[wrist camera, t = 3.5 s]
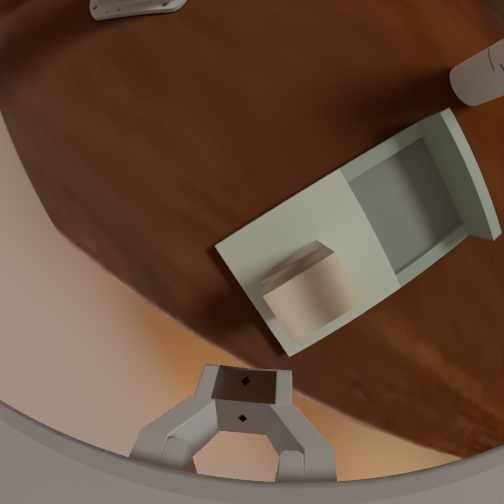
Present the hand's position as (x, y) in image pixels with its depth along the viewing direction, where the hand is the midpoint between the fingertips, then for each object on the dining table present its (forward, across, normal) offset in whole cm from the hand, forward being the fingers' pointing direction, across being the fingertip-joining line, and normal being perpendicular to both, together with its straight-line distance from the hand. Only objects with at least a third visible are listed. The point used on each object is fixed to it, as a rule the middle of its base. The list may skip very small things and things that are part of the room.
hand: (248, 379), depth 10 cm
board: (+30, -12, +4) cm, 32 cm away
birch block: (+26, -4, +9) cm, 28 cm away
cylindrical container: (+37, -31, -21) cm, 52 cm away
